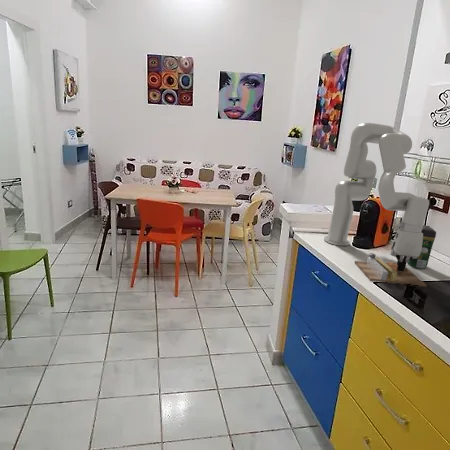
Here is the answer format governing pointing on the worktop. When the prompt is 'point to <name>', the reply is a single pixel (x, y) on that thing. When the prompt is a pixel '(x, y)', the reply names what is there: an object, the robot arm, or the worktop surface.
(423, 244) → the coffee jar
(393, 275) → the tong jaw
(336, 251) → the worktop surface
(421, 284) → the board
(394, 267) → the lock tab
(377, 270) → the tongs base
